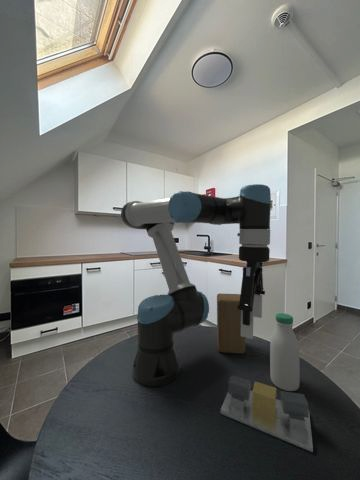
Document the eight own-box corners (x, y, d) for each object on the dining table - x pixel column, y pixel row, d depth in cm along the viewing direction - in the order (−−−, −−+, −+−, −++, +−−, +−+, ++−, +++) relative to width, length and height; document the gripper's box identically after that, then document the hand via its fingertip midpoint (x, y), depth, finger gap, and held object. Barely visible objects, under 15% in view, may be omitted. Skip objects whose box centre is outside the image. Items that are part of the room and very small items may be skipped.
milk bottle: (304, 394, 55) (303, 321, 55) (273, 390, 57) (273, 319, 57) (294, 375, 63) (293, 311, 63) (267, 372, 65) (267, 310, 64)
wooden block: (217, 339, 86) (216, 292, 85) (241, 341, 84) (241, 293, 84) (218, 353, 76) (217, 300, 75) (245, 355, 74) (245, 300, 74)
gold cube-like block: (252, 412, 49) (252, 391, 49) (255, 400, 52) (254, 381, 52) (275, 421, 46) (275, 399, 46) (276, 408, 50) (276, 388, 50)
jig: (220, 413, 50) (220, 389, 50) (231, 387, 58) (231, 366, 58) (312, 452, 40) (312, 423, 40) (309, 414, 49) (308, 389, 49)
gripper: (248, 243, 65) (247, 308, 66) (225, 247, 44) (223, 343, 45) (274, 244, 62) (272, 312, 62) (262, 249, 40) (259, 354, 41)
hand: (252, 325), depth 54 cm, fingers open, 13 cm apart
